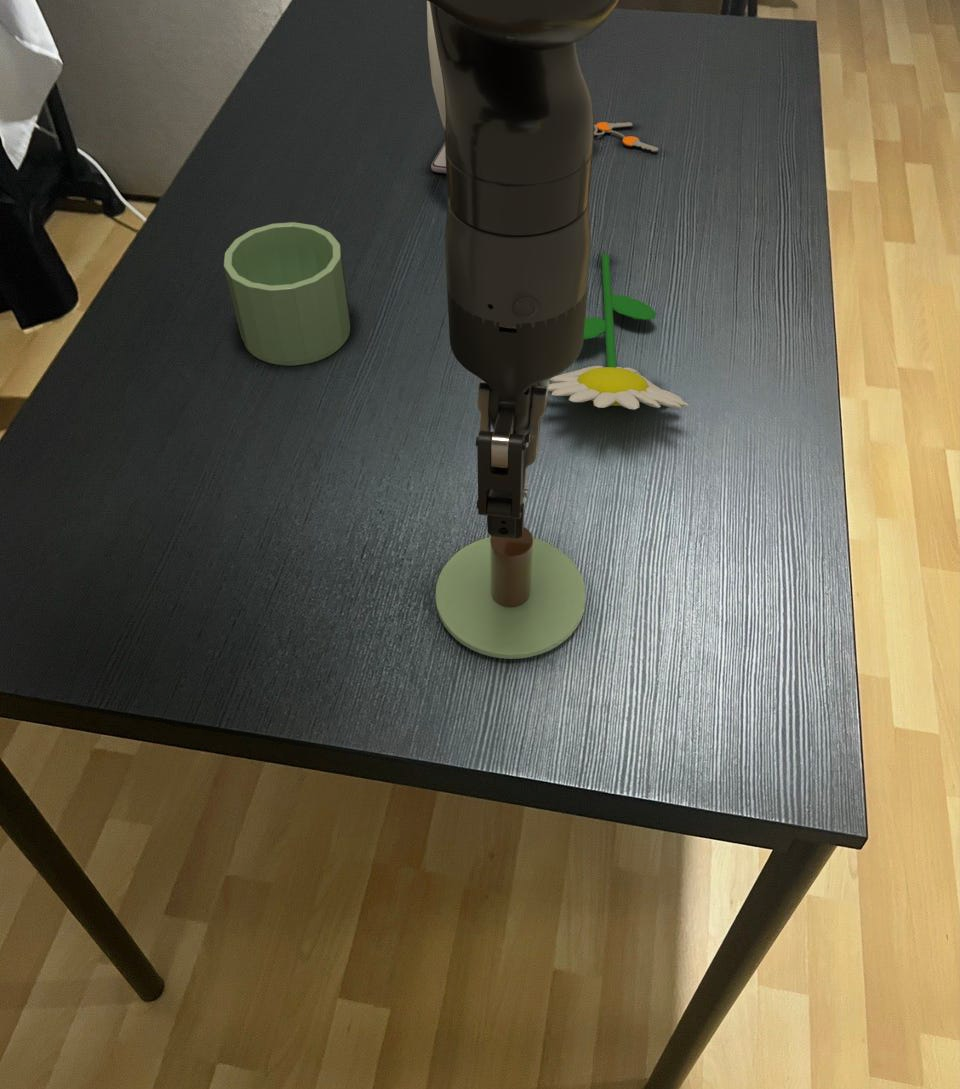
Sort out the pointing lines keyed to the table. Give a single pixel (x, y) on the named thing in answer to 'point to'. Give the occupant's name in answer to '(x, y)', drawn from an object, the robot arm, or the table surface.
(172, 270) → the table surface
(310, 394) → the table surface
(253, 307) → the tin
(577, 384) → the decorative flower
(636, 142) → the key chain
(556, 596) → the lid
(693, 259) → the table surface
